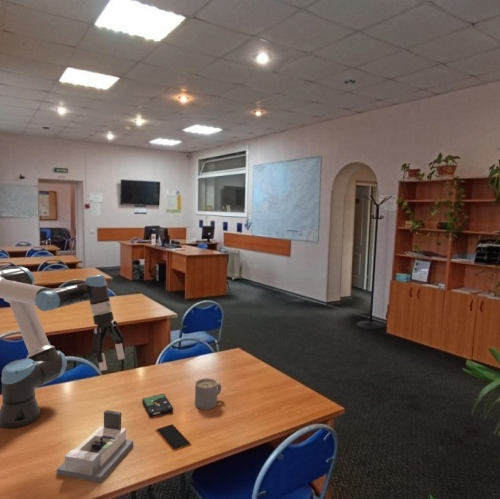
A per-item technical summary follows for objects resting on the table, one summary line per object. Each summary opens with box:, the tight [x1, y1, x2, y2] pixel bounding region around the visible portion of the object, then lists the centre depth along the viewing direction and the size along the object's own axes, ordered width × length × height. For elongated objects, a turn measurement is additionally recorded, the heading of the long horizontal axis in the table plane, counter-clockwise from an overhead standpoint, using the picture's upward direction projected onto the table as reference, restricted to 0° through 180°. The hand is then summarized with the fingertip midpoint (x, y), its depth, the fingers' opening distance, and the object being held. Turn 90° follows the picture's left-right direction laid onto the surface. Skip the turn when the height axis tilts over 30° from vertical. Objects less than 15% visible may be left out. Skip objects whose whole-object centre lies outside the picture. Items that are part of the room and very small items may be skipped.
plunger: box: [95, 409, 122, 443], centre depth 144 cm, size 6×7×10 cm
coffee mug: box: [194, 377, 222, 410], centre depth 181 cm, size 13×10×10 cm
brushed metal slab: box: [64, 448, 99, 476], centre depth 129 cm, size 10×4×5 cm, turn 78°
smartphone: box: [155, 423, 192, 452], centre depth 153 cm, size 8×17×1 cm, turn 36°
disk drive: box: [141, 393, 174, 418], centre depth 176 cm, size 10×3×15 cm
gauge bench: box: [56, 424, 134, 484], centre depth 138 cm, size 16×21×6 cm
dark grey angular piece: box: [92, 435, 115, 450], centre depth 140 cm, size 8×2×5 cm, turn 78°
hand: (112, 364), depth 160 cm, fingers open, 13 cm apart
